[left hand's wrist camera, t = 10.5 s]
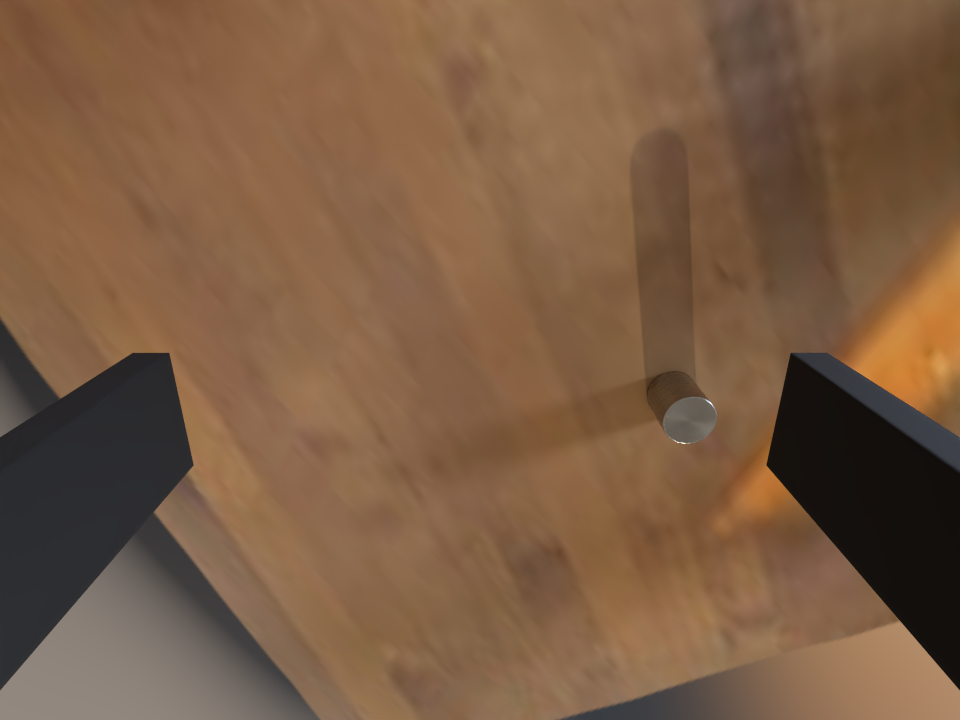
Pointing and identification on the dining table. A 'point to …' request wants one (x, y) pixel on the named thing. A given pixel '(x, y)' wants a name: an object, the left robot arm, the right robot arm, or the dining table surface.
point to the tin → (681, 407)
